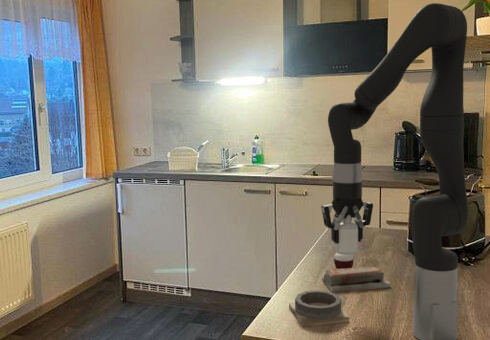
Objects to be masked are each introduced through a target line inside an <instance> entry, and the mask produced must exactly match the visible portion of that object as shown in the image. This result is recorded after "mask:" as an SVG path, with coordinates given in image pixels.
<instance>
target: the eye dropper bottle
mask: <svg viewBox="0 0 490 340" xmlns="http://www.w3.org/2000/svg"><path fill="white" fill-rule="evenodd" d="M338 230H339V243H338V244H335V251H336V252H335V253H338V254H342V255H350V254H353V255H356V254H358V253H359V242H358V226H357V224H355V222H353V218H351V216H350V215H348V216H347V218H343V221H342V222H341V223H340V225H339V228H338Z"/></svg>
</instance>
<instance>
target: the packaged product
mask: <svg viewBox="0 0 490 340" xmlns="http://www.w3.org/2000/svg"><path fill="white" fill-rule="evenodd" d="M384 275H385V274H384V272H383V270H382V269H381V268H380V267H379V268H378V267H374V266H373V267H371V266H365V267H352V268H346V269H337V268H331V269H326V270H325V273H324V274H323V277H321V280H323V281H322V282H323V284H325V285H326V286H327V288H328V289H329V290H330V292H331V293H334V292H342V291H343V292H344V291H345V292H346V291H357V290H358V291H360V290H372V289H383V288H390V287H391V282H389V281H388V280H387V279H385V278H384Z"/></svg>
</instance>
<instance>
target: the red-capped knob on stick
mask: <svg viewBox="0 0 490 340" xmlns="http://www.w3.org/2000/svg"><path fill="white" fill-rule="evenodd" d="M354 260H355V259H354V254H350V255H342V254H338V253H337V252H335V254H334V257H333V262H334V263H333V264H334V267H335V269H346V268H353V265H354Z"/></svg>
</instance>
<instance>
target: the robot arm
mask: <svg viewBox="0 0 490 340" xmlns="http://www.w3.org/2000/svg"><path fill="white" fill-rule="evenodd" d="M467 35H468V22H467V18H466V15H465V13H464V12H463V11H462V10H461V9H460V8H458V7H456V6H453V5H448V4H443V3H437V2H436V3H435V2H433V3H432V2H431V3H429V4H426V5H424V6H423V7H421V8H420V9H419V10H418V11H417V12H416V13H415V14H414V16H413V17H412V18H411V20H410V21H409V23H408V24H407V26H406V27H405V29H404V30H403V32H402V33H401V34H400V36H399V37H398V39H397V40H396V41H395V42H394V44H393V46H392V47H391V48H390V49H389V51H388V52H387V54H386V55H385V56H384V57H383V59H382V60H381V61H380V62H379V64H377V65H376V67H375V68H374V69H373V70H372V71H370V73H369V74H368V75H367V76H366V77H365V78H364V79H362V80H363V81H362V82H360V83H359V84H358V86H357V88H356V89H355V90H354V100H352V101H350V102H339V103H336V104H334V105H332V107H331V108H330V110H329V113H328V115H327V117H328V118H327V125H328V130H329V132H330V137H331V142H332V145H333V169H332V177H331V178H332V201H331V203H330V204H322V205H321V207H320V208H321V213H322V214H321V215H322V220H323V224H324V226H325V227H326V228H328V229H330V231H331V235H330V236H331V240H332V241H333V243H334V244H335V245H336V244H338V243H339V230H338V228H339V225H340V223H341V222H343V218H347V216H348V215H350V216H351V218H352V220H354V223H355V224H357V226H358V243H359V242H360V243H361V241H362V240H363V237H364V234H363V231H364V227H366V226H370V225H371V220H372V215H373V209H374V204H373V203H371V202H370V201H363V199H362V197H363V166H362V144H361V141H359V140H358V139H355V138H354V136H353V132H352V130H358V129H361V128H363V126H365V125H366V124H367V123H368V121H369V120H370V119H371V118H372V116H373V115H374V113H375V112H376V110H377V108H378V107H379V106H380V105H381V104H382V103H383V102H384V101H385V100H386V99H388V97H390V96H391V94H392V93H393V92H394V91H395V90H396V89H397V88H398V86H399V85H400V84H401V81H402V80H403V77H404V75H405V73H406V71H407V70H408V69H409V67H410V66H411V65H412V63H413V62H414V61H415V60H416V59H417V58H418V57H419V56H421V55H423V54H424V53H425V52H426V51H428V50H429V49H430V50H431V74H430V79H429V81H428V85H427V87H426V90H425V91H424V95H423V97H422V100H421V103H420V109H419V116H420V117H419V135H420V140H421V144H422V146H423V147H424V149H425V151H426V153H427V154H428V156H429V158H430V160H431V161H432V163H433V165H434V167H435V170H436V172H437V177H438V182H439V183H438V184H439V192H438V193H439V195H434V196H433V195H432V196H426V197H421V198H419V199H417V200H416V201H415V203H414V205H413V208H412V214H411V233H412V237H411V238H412V250H413V255H414V282H413V283H414V287H413V288H414V290H413V320H412V321H413V322H412V325H413V326H412V334H413V336H414V337H415V338H417V339H418V340H458V338H457V336H458V318H459V317H458V316H459V303H458V302H457V291H458V288H457V287H458V286H457V285H458V268H459V257H458V255H457V253H455V252H454V251H453V250H449V249H448V248H443V245H442V244H443V243H442V237H450V236H455V235H459V234H461V233H463V232H464V230H465V229H466V227H467V225H468V220H469V206H468V205H469V204H468V197H467V187H466V178H465V177H466V176H465V158H464V155H465V154H464V137H465V136H464V134H465V133H464V132H465V116H464V115H465V113H464V111H465V110H464V67H465V66H464V64H465V54H466V47H467V46H466V45H467V37H468V36H467ZM332 209H333V211H334V214H333V216H332V218H331V213H332ZM361 209H363V214H362V216H361V214H360V211H361ZM331 219H332V220H331Z"/></svg>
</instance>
